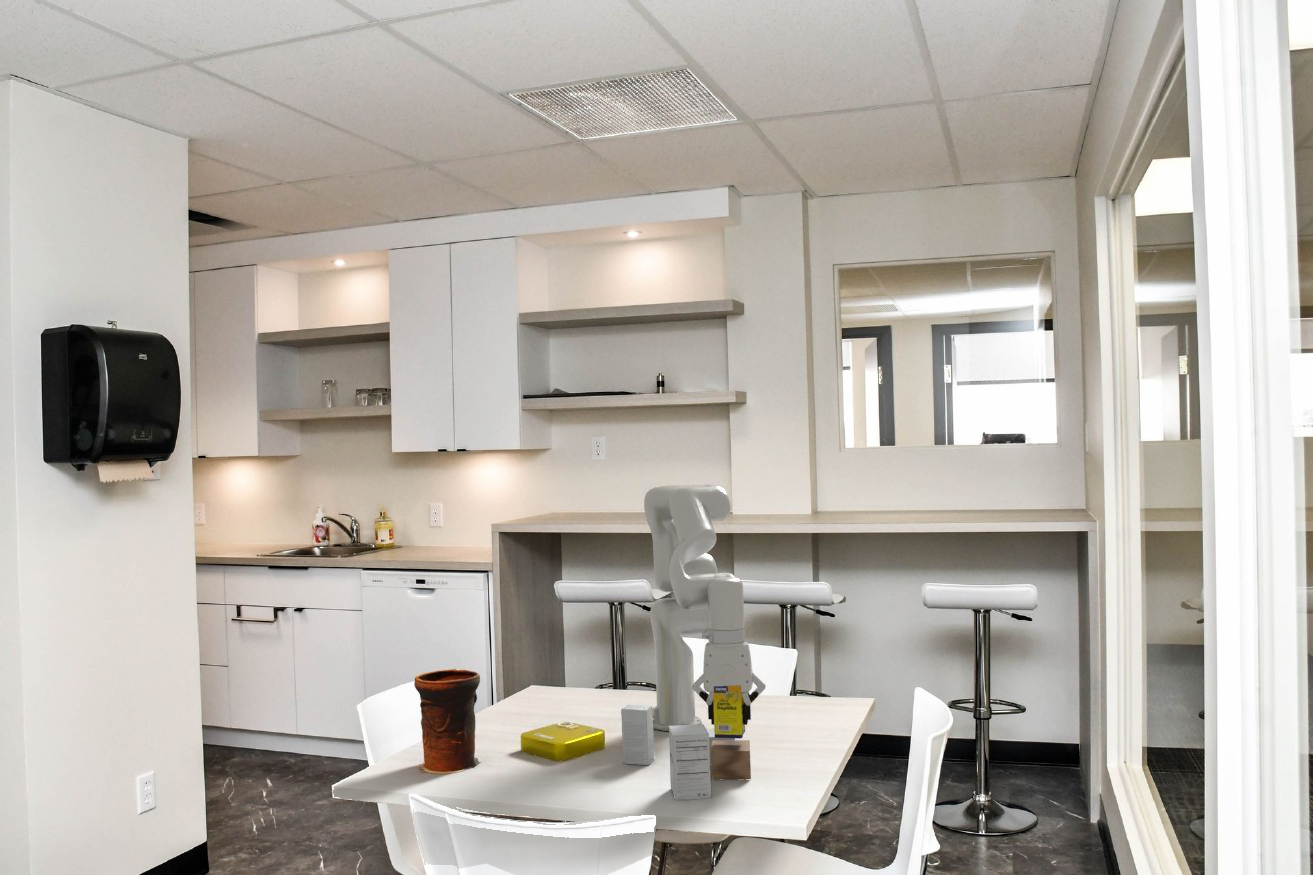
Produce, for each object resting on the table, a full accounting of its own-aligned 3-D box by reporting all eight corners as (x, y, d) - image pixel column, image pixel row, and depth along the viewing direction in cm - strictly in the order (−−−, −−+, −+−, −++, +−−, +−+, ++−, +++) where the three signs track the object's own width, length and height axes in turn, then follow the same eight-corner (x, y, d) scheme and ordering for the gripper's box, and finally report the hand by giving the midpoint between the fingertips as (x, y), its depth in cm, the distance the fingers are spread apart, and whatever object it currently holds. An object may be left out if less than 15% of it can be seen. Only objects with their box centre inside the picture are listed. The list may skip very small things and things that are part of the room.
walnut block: (711, 780, 205) (710, 751, 205) (712, 768, 213) (712, 740, 213) (751, 780, 204) (750, 750, 205) (750, 768, 212) (749, 740, 213)
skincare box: (654, 760, 220) (653, 705, 220) (648, 765, 216) (646, 710, 216) (629, 758, 222) (627, 704, 222) (622, 763, 218) (620, 708, 218)
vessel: (409, 760, 225) (409, 671, 226) (471, 753, 231) (471, 666, 232) (420, 778, 212) (420, 683, 213) (486, 769, 218) (486, 677, 218)
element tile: (517, 752, 231) (516, 731, 231) (565, 738, 242) (565, 718, 242) (560, 764, 221) (560, 742, 221) (609, 748, 232) (608, 728, 232)
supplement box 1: (670, 788, 200) (668, 725, 201) (706, 786, 201) (704, 723, 201) (673, 800, 193) (671, 734, 193) (711, 798, 194) (709, 732, 194)
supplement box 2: (742, 738, 205) (740, 685, 206) (714, 738, 207) (712, 685, 207) (746, 731, 211) (744, 679, 212) (718, 730, 212) (716, 679, 213)
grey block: (703, 765, 215) (702, 737, 216) (699, 756, 222) (698, 728, 223) (735, 763, 216) (734, 735, 216) (730, 754, 223) (729, 727, 223)
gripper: (683, 639, 207) (686, 727, 207) (767, 639, 205) (770, 728, 204) (688, 633, 215) (691, 718, 214) (769, 633, 212) (772, 718, 211)
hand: (729, 722), depth 209 cm, fingers closed on supplement box 2, 6 cm apart
